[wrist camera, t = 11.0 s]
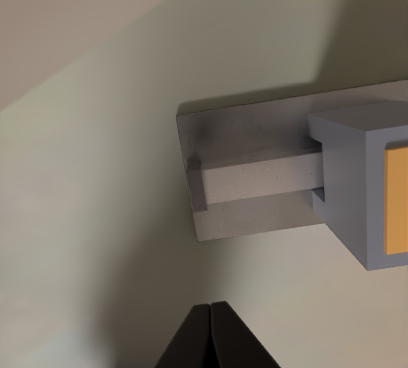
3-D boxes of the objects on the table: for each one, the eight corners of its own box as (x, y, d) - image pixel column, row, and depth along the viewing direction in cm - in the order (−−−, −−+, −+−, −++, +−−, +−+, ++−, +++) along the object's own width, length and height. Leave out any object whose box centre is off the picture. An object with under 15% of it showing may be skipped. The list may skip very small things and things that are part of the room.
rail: (506, 192, 22) (546, 206, 19) (197, 237, 22) (197, 257, 20) (521, 60, 19) (569, 58, 17) (176, 115, 20) (173, 120, 17)
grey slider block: (393, 198, 21) (490, 256, 14) (313, 210, 21) (370, 273, 14) (394, 100, 19) (506, 111, 12) (307, 114, 19) (368, 132, 12)
